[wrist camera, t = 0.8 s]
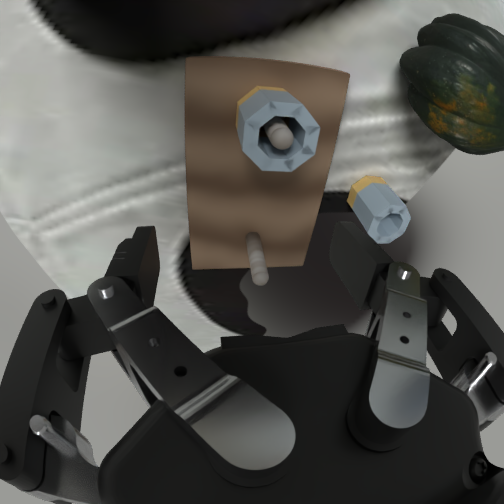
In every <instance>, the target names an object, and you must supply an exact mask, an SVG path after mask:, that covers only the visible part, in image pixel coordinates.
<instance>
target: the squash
mask: <svg viewBox="0 0 504 504" xmlns="http://www.w3.org/2000/svg"><path fill="white" fill-rule="evenodd" d="M417 40H418V45H419V47H415V48H411V49H409V50H407V51H406V52H404V53H403V54H402V56H401V59H400V67H401V69H402V71H403V72H404V74H405V76H406V77H407V78H408V80H409V81H410V82H411V84H410V86H409V90H408V99H409V101H410V104H411V106H412V107H413V109H414V111H415V112H416V113H417V114H418V116H419V117H420V119H421V120H422V121H423V122H424V123H425V124H426V125H427V127H428V128H430V129H431V130H432V131H433V132H434V133H435V134H436V135H438V136H439V137H440V138H442V139H444V140H446V141H447V142H449V143H450V144H451V145H452V146H454V147H455V148H457V149H458V150H461V151H463V152H466V153H469V154H475V155H485V154H490V153H495V152H499V151H504V35H502V34H501V33H500V32H498V31H497V30H495V29H493V28H491V27H489V26H485V25H482V24H481V23H479V22H478V21H476V20H473V19H471V18H468V17H465V16H462V15H459V14H455V13H453V14H447V15H445V16H442V17H437V18H435V19H434V20H433V21H432V22H431V24H428V25H426V26H424V27H422V28H421V29H420V30H419V32H418V36H417Z"/></svg>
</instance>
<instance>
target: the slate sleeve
mask: <svg viewBox="0 0 504 504" xmlns="http://www.w3.org/2000/svg"><path fill="white" fill-rule="evenodd" d="M347 202H348V203H349V205H350V206H351V208H352V209H353V211H354V212H355V214H356V215H357V217H358V219H359V220H360V222H361V223H362V225H363V226H364V228H365V230H366V231H367V233H368V234H369V236H370V237H372V238H373V239H374V240H375V241H376V242H377V243H390V242H391V241H393V240H394V239H396V238H397V237H399V236H400V235H402V234H403V233H404V232H405V230H406V228H407V226H408V223H409V221H410V219H411V217H410V215H409V212H408V210H407V207H406V205H405V204H404V203H403V202H402V201H401V199H400V198H399V197H398V196H397V195H396V194H395V192H394V191H393V190H392V189H391V188H390V187H389V186H388V185H387V183H386V182H385V181H384V180H383V179H382V178H381V177H374V176H365V177H363V178H362V179H361V180H359V181H358V182H356V183H355V184H353V185H352V187H351V190H350V193H349V196H348V199H347Z"/></svg>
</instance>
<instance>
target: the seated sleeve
mask: <svg viewBox="0 0 504 504" xmlns="http://www.w3.org/2000/svg"><path fill="white" fill-rule="evenodd" d="M274 116H284V123H285V124H286V125H287V127H288V128H289V129H290V131H291V132H292V134H293V137H294V140H293V143H292V145H291V146H290V147H289V148H287V149H284V150H281V149H277V148H275V147H274V146H273V145H272V143H271V142H270V140H269V138H268V136H267V134H266V132H265V131H259V128H260V127H261V126H263V125H264V124H265V123H266V122H268V121H269V120H270V119H272V118H273V117H274ZM236 128H237V132H238V136H239V140H240V144H241V148H242V151H243V152H244V153H245V154H246V155H247V156H248V157H249V158H250V159H251V160H252V161H253V162H254V163H255V164H256V165H257V166H258V167H259V168H260V169H261V170H262V171H284V172H292V171H293V170H295V169H296V168H297V167H299V166H300V165H301V164H303V163H304V162H305V161H307V160H308V159H310V158H311V157H312V156H314V155H315V151H316V146H317V142H318V137H319V132H320V126H319V125H318V124H317V122H316V121H315V120H314V118H313V117H312V116H311V114H310V113H309V112H308V110H307V109H306V108H305V107H304V105H303V104H302V103H301V102H300V101H298V100H297V99H296V98H295V97H293V96H292V95H291V94H290V93H288V92H287V91H286V90H284V89H283V88H276V87H264V86H257V87H255V88H254V89H253V90H251V91H250V92H249V93H248V94H246V95H245V96H244V97H243V98H241V99H240V100H239V101H237V115H236Z"/></svg>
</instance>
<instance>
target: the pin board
mask: <svg viewBox="0 0 504 504" xmlns="http://www.w3.org/2000/svg"><path fill="white" fill-rule="evenodd" d="M349 78H350V74H348V73H346V72H343V71H340V70H335V69H330V68H325V67H320V66H314V65H309V64H302V63H296V62H288V61H280V60H271V59H260V58H247V57H221V56H201V57H187V58H186V64H185V157H186V183H187V203H188V219H189V233H190V246H191V258H192V269H225V268H251V274H252V279H253V282H254V283H255V284H256V285H259V286H261V285H264V284H266V283H267V281H268V279H269V277H268V272H267V267H284V266H303V263H304V260H305V256H306V253H307V249H308V246H309V243H310V239H311V236H312V232H313V229H314V225H315V222H316V217H317V214H318V211H319V207H320V203H321V200H322V196H323V192H324V188H325V184H326V180H327V176H328V173H329V168H330V164H331V160H332V156H333V152H334V148H335V144H336V139H337V135H338V131H339V126H340V122H341V117H342V112H343V108H344V103H345V98H346V93H347V88H348V83H349ZM257 86H264V87H276V88H283V89H284V90H286V91H287V92H288V93H290V94H291V95H292V96H293V97H295V98H296V99H297V100H298V101H300V102H301V103H302V104H303V105H304V107H305V108H306V109H307V110H308V112H309V113H310V114H311V116H312V117H313V118H314V120H315V121H316V122H317V124H318V125H319V126H320V132H319V137H318V142H317V146H316V151H315V155H314V156H312V157H311V158H310V159H308V160H307V161H305V162H304V163H303V164H301V165H300V166H299V167H297V168H296V169H295V170H293V171H292V172H284V171H262V170H261V169H260V168H259V167H258V166H257V165H256V164H255V163H254V162H253V161H252V160H251V159H250V158H249V157H248V156H247V155H246V154H245V153H244V152H243V151H242V148H241V144H240V140H239V136H238V132H237V128H236V115H237V101H239V100H240V99H241V98H243V97H244V96H245V95H246V94H248V93H249V92H250V91H251V90H253V89H254V88H255V87H257ZM259 131H265V132H266V134H267V136H268V138H269V140H270V142H271V143H272V145H273V146H274V147H275V148H277V149H281V150H284V149H287V148H289V147H290V146H291V145H292V143H293V140H294V137H293V134H292V132H291V131H290V129H289V128H288V127H287V125H286V124H285V123H284V116H274V117H273V118H272V119H270V120H269V121H268V122H266V123H265V124H264V125H263V126H261V127H260V128H259Z"/></svg>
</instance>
